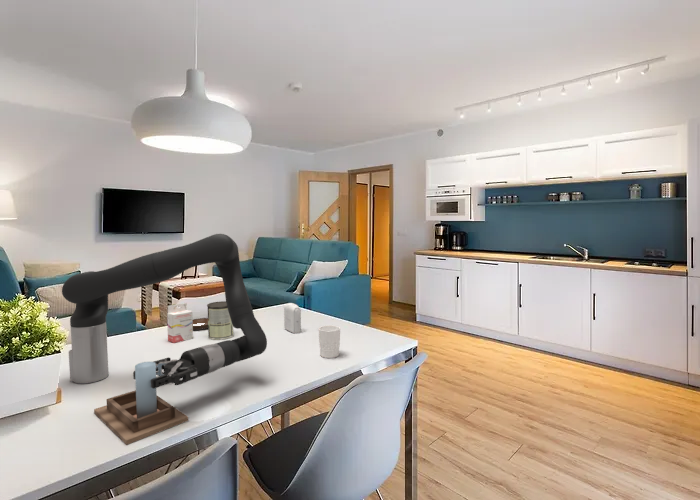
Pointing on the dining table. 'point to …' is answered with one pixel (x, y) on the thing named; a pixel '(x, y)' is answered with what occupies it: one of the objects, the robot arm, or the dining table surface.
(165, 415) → the slot rack
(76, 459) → the dining table surface
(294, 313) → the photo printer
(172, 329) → the ink cartridge box
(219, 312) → the coffee can
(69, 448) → the dining table surface
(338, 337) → the white cup
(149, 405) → the slate peg
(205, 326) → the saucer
